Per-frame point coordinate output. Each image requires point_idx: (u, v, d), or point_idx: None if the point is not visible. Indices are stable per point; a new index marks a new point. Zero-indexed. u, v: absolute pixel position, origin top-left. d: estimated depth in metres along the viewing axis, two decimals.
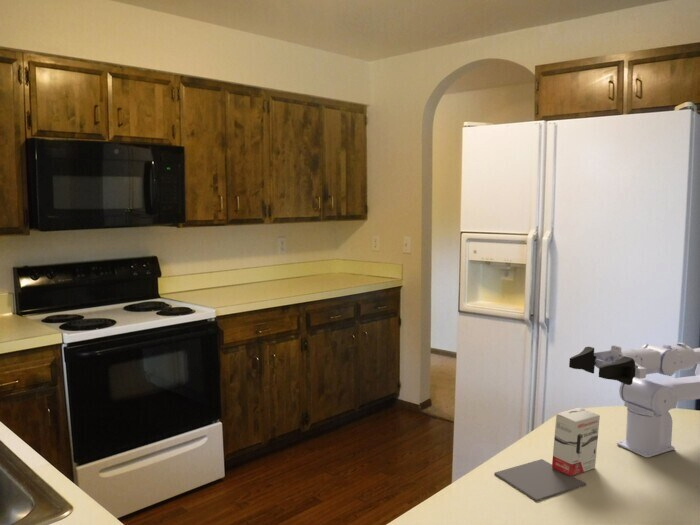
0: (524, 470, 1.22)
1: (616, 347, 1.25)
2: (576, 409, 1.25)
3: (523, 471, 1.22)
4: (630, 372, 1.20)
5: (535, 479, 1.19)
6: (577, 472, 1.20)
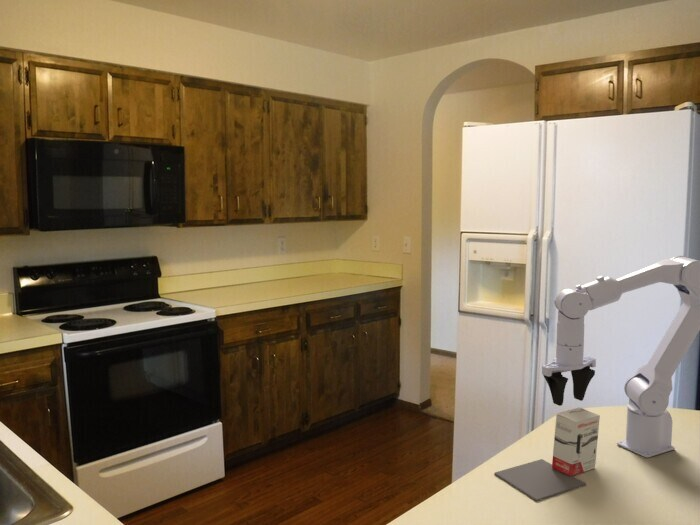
0: (524, 470, 1.22)
1: (555, 361, 1.36)
2: (576, 409, 1.25)
3: (523, 471, 1.22)
4: (552, 377, 1.30)
5: (535, 479, 1.19)
6: (577, 472, 1.20)
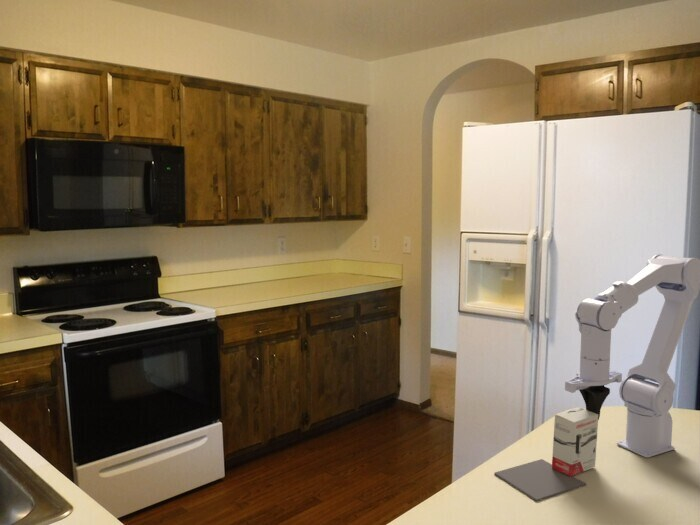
0: (524, 470, 1.22)
1: None
2: (575, 409, 1.25)
3: (523, 471, 1.22)
4: (588, 391, 1.23)
5: (535, 479, 1.19)
6: (577, 472, 1.20)
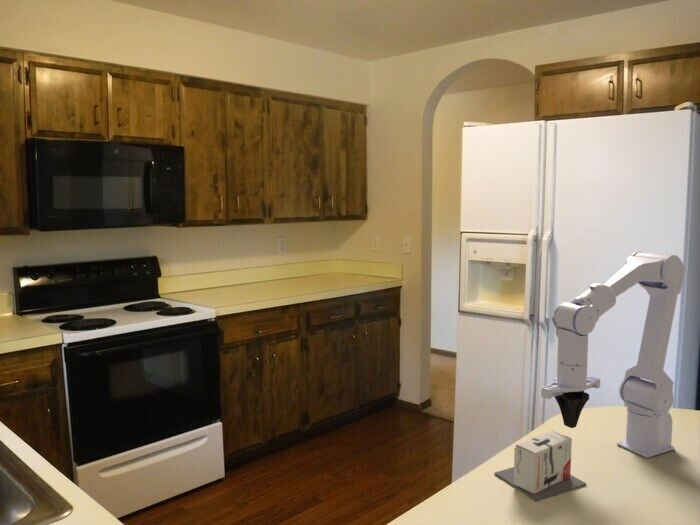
0: None
1: (556, 380, 1.24)
2: (516, 456, 1.15)
3: None
4: None
5: None
6: (569, 468, 1.19)
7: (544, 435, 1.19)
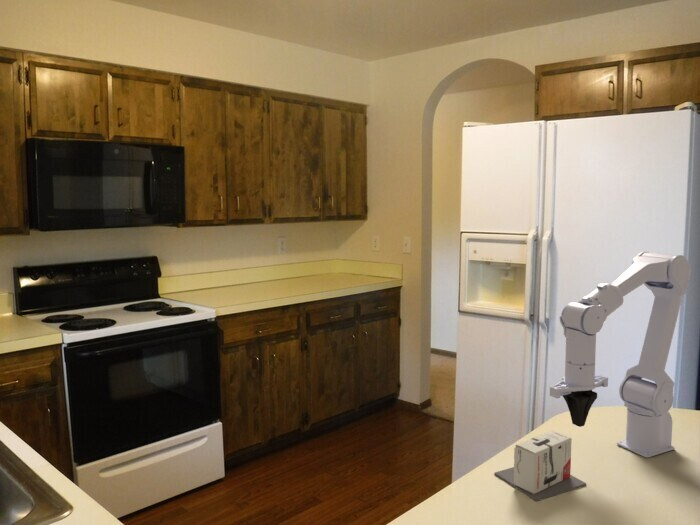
0: None
1: (564, 380, 1.25)
2: (516, 456, 1.15)
3: None
4: None
5: None
6: (569, 467, 1.19)
7: (544, 435, 1.19)
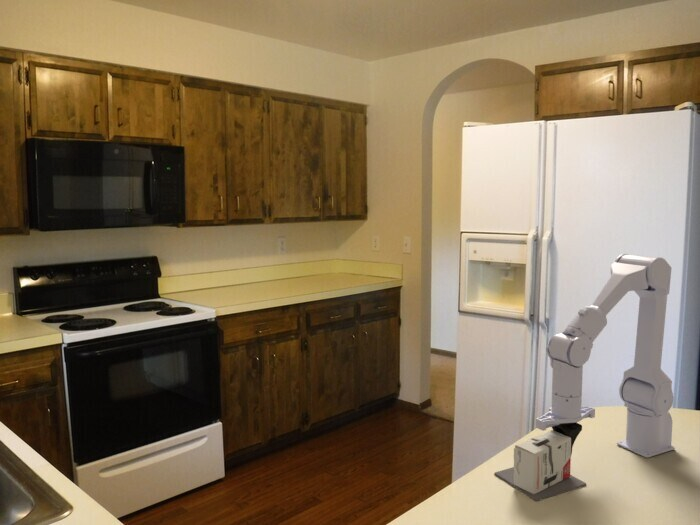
0: None
1: None
2: (515, 457, 1.15)
3: None
4: None
5: None
6: (569, 467, 1.19)
7: (543, 435, 1.19)
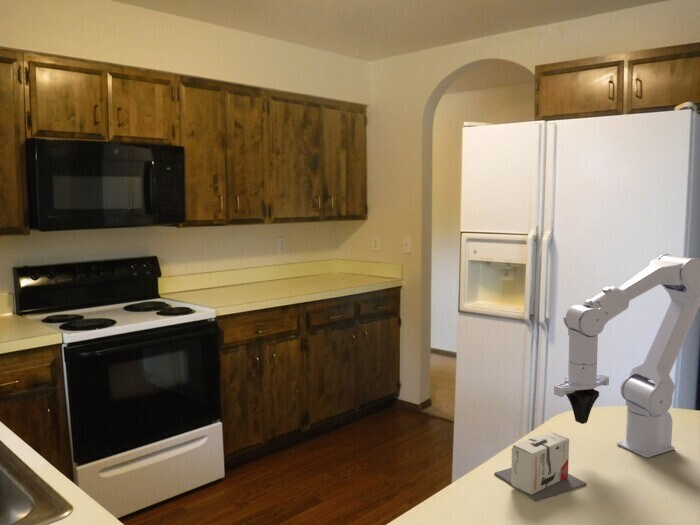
0: None
1: (567, 379, 1.30)
2: (513, 457, 1.15)
3: None
4: None
5: None
6: (567, 468, 1.18)
7: (541, 436, 1.19)
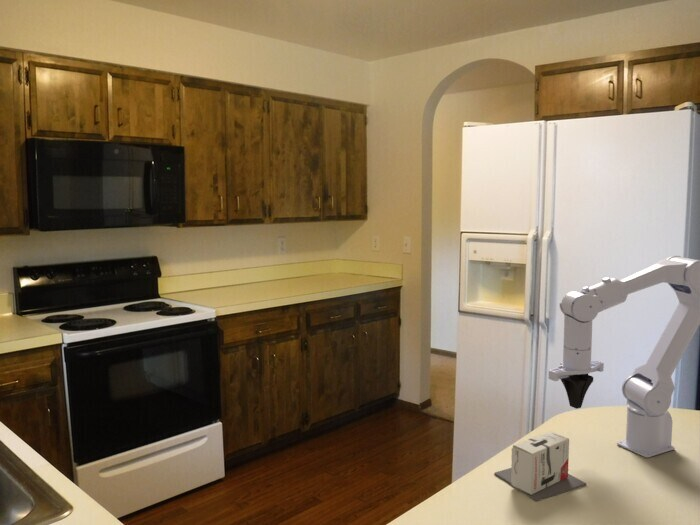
0: None
1: (562, 365, 1.32)
2: (513, 457, 1.15)
3: None
4: None
5: None
6: (567, 468, 1.18)
7: (541, 436, 1.19)
